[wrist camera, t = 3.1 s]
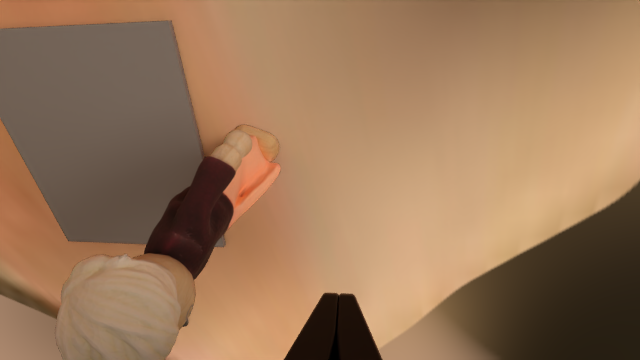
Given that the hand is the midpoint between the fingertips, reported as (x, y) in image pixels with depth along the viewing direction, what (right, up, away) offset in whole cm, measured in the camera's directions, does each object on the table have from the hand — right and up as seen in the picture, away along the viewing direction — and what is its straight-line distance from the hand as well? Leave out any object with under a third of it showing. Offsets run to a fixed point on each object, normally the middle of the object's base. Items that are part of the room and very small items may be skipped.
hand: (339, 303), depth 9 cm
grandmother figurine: (-5, +5, +10) cm, 12 cm away
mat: (-13, +5, +10) cm, 18 cm away
